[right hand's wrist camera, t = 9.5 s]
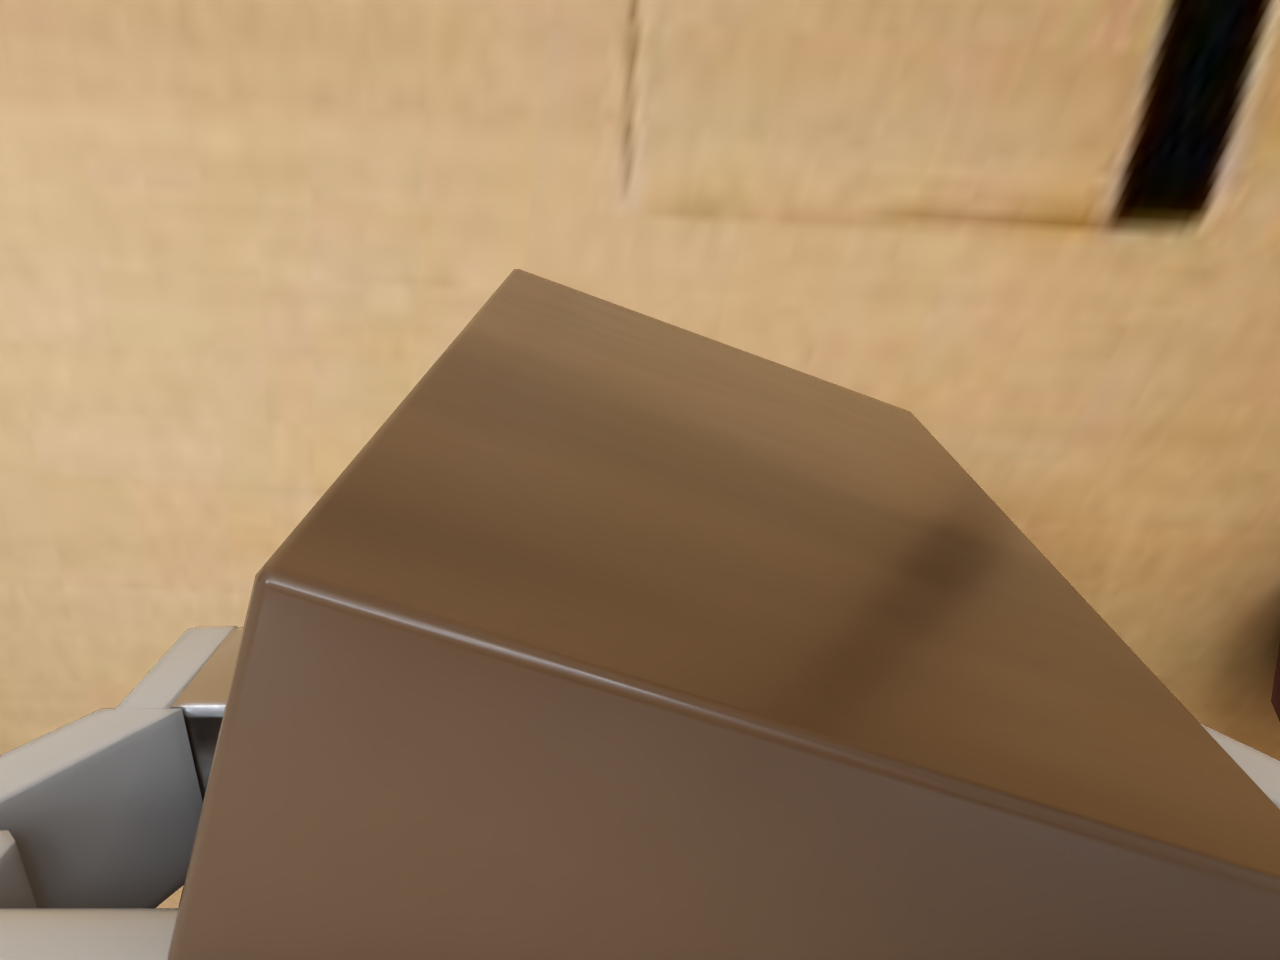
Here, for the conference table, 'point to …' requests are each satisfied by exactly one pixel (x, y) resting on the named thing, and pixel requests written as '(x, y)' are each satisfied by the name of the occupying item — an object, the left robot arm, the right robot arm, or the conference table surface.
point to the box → (695, 692)
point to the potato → (1277, 688)
